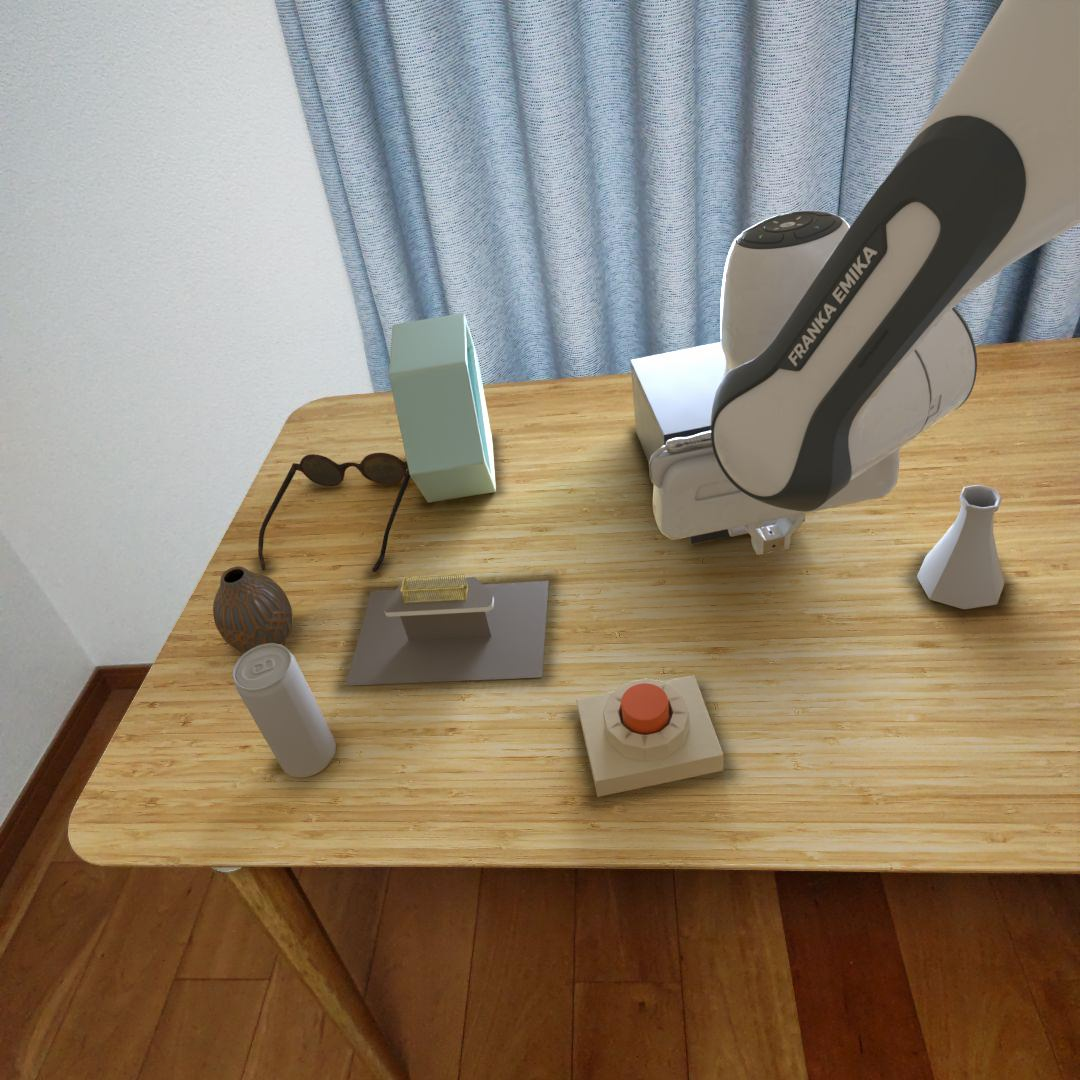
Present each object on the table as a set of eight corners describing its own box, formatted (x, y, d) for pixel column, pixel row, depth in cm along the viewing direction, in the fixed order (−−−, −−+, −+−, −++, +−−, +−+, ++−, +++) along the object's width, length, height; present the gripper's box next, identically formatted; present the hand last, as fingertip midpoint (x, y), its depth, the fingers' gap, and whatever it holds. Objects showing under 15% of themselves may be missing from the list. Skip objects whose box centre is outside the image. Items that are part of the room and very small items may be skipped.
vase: (315, 621, 88) (286, 557, 82) (272, 674, 84) (238, 610, 78) (260, 606, 91) (228, 542, 85) (216, 656, 86) (179, 593, 80)
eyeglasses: (419, 482, 102) (409, 447, 99) (384, 574, 92) (372, 538, 88) (300, 484, 105) (287, 449, 102) (253, 573, 95) (236, 538, 91)
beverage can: (278, 745, 77) (227, 655, 69) (332, 724, 78) (288, 633, 70) (286, 789, 74) (233, 700, 66) (342, 767, 75) (297, 676, 67)
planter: (501, 506, 104) (478, 443, 84) (435, 516, 104) (397, 456, 84) (483, 374, 109) (457, 284, 89) (419, 384, 109) (379, 297, 89)
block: (695, 691, 76) (693, 660, 73) (723, 770, 70) (723, 740, 67) (578, 715, 75) (573, 685, 73) (597, 797, 69) (592, 768, 67)
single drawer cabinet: (786, 486, 93) (790, 409, 87) (667, 510, 93) (663, 435, 87) (741, 410, 104) (743, 337, 98) (635, 431, 104) (630, 359, 97)
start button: (662, 692, 71) (661, 678, 70) (674, 728, 69) (673, 715, 68) (618, 701, 71) (616, 687, 70) (628, 738, 69) (626, 724, 68)
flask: (918, 608, 79) (936, 523, 72) (914, 551, 84) (930, 467, 77) (1009, 615, 77) (1036, 528, 70) (999, 556, 82) (1023, 470, 75)
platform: (371, 590, 90) (353, 543, 86) (548, 580, 88) (539, 531, 83) (345, 685, 81) (324, 637, 77) (542, 677, 79) (531, 627, 74)
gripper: (658, 468, 68) (665, 595, 77) (919, 416, 68) (895, 547, 78) (638, 422, 73) (647, 547, 82) (883, 373, 73) (864, 502, 82)
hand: (770, 547), depth 80 cm, fingers closed
